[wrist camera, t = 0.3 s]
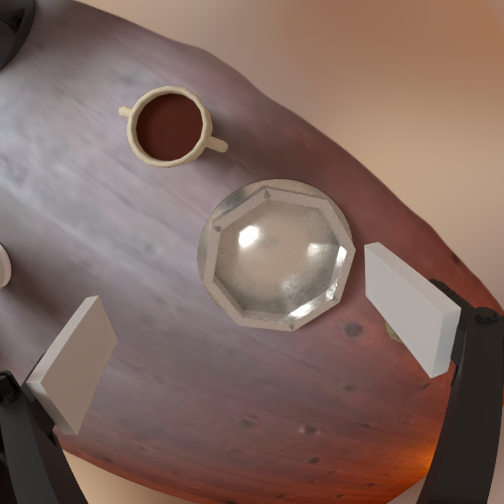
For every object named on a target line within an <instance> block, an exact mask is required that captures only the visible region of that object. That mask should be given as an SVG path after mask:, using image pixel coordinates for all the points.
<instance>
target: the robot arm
mask: <svg viewBox="0 0 504 504" xmlns="http://www.w3.org/2000/svg"><path fill="white" fill-rule="evenodd" d="M33 18H34V2H33V0H0V69H2V68H3V67H4V66H5V65H6V64H7V63H8V62H9V61H10V60H11V59H12V58H13V57H14V56H15V54H16V53H17V52H18V50H19V49H20V47H21V46H22V44H23V43H24V41H25V39H26V37H27V35H28V33H29V31H30V28H31V25H32V22H33ZM364 249H365V277H366V296H367V297H368V299H369V300H370V301H371V302H372V304H373V305H374V306H375V307H376V308H377V310H378V311H379V312H380V313H381V315H382V316H383V317H384V318H385V320H386V321H387V322H388V323H389V325H390V326H391V327H392V328H393V330H394V331H395V332H396V334H397V335H398V336H399V337H400V339H401V340H402V341H403V343H404V344H405V345H406V346H407V348H408V349H409V350H410V352H411V353H412V354H413V356H414V357H415V358H416V359H417V361H418V362H419V363H420V365H421V366H422V367H423V369H424V370H425V371H426V373H427V374H428V375H429V377H430V378H433V377H436V376H438V375H441V374H443V373H445V372H447V371H448V368H449V364H450V360H452V361H453V362H454V363H455V364H456V368H455V372H454V375H453V379H452V382H451V385H450V387H451V392H450V397H449V402H448V406H447V410H446V414H445V418H444V422H443V426H442V430H441V433H440V437H439V441H438V444H437V447H436V450H435V454H434V457H433V460H432V463H431V466H430V469H429V472H428V474H427V477H426V480H425V483H424V485H423V488H422V490H421V493H420V495H419V498H418V500H417V503H416V504H487V500H488V496H489V492H490V488H491V483H492V479H493V474H494V469H495V462H496V457H497V451H498V444H499V436H500V427H501V417H502V403H503V384H504V316H500V315H499V314H498V313H497V312H496V311H494V310H492V309H490V308H486V307H478V308H474V307H472V306H471V305H470V304H469V303H468V302H466V301H465V300H464V299H463V298H461V297H460V296H459V295H458V294H457V295H456V293H455V292H454V291H453V290H450V288H449V287H448V286H446V285H445V284H444V283H442V282H440V281H437V280H434V279H430V280H427V279H425V278H424V277H423V276H422V275H420V274H419V273H418V272H417V271H415V270H414V269H413V268H412V267H410V266H409V265H408V264H406V263H405V262H404V261H403V260H401V259H400V258H399V257H397V256H396V255H395V254H393V253H392V252H391V251H390V250H388V249H387V248H386V247H384V246H383V245H382V244H380V243H379V242H377V243H372V244H367V245H364ZM117 342H118V339H117V337H116V335H115V333H114V330H113V328H112V326H111V323H110V321H109V319H108V316H107V314H106V311H105V309H104V306H103V304H102V301H101V299H100V296H99V295H98V296H92V297H87V298H86V299H85V300H84V302H83V303H82V304H81V305H80V307H79V308H78V309H77V311H76V312H75V313H74V315H73V316H72V317H71V319H70V320H69V321H68V323H67V324H66V325H65V327H64V328H63V329H62V331H61V332H60V333H59V335H58V336H57V338H56V339H55V340H54V342H53V343H52V345H51V346H50V347H49V349H48V350H47V351H46V352H45V353H44V354H43V355H42V356H41V357H40V359H39V360H38V362H37V364H36V365H35V366H34V367H33V370H31V372H30V373H29V375H28V376H27V378H26V379H25V381H24V382H23V384H22V386H21V387H20V386H19V384H18V383H17V381H16V379H15V378H14V376H13V375H12V373H11V372H10V371H8V370H6V371H1V372H0V504H88V502H87V500H86V498H85V496H84V494H83V493H82V491H81V489H80V487H79V485H78V483H77V481H76V479H75V477H74V475H73V473H72V471H71V468H70V466H69V464H68V462H67V460H66V457H65V455H64V453H63V451H62V448H61V446H60V443H59V441H58V438H57V436H56V435H55V434H54V432H53V431H52V429H53V427H54V425H56V426H57V427H58V429H59V430H60V431H61V432H62V434H70V435H78V432H79V429H80V427H81V424H82V422H83V419H84V417H85V414H86V412H87V410H88V407H89V405H90V402H91V400H92V397H93V395H94V393H95V390H96V388H97V386H98V383H99V381H100V379H101V377H102V374H103V372H104V370H105V368H106V365H107V363H108V361H109V359H110V357H111V354H112V352H113V350H114V348H115V346H116V344H117Z"/></svg>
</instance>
